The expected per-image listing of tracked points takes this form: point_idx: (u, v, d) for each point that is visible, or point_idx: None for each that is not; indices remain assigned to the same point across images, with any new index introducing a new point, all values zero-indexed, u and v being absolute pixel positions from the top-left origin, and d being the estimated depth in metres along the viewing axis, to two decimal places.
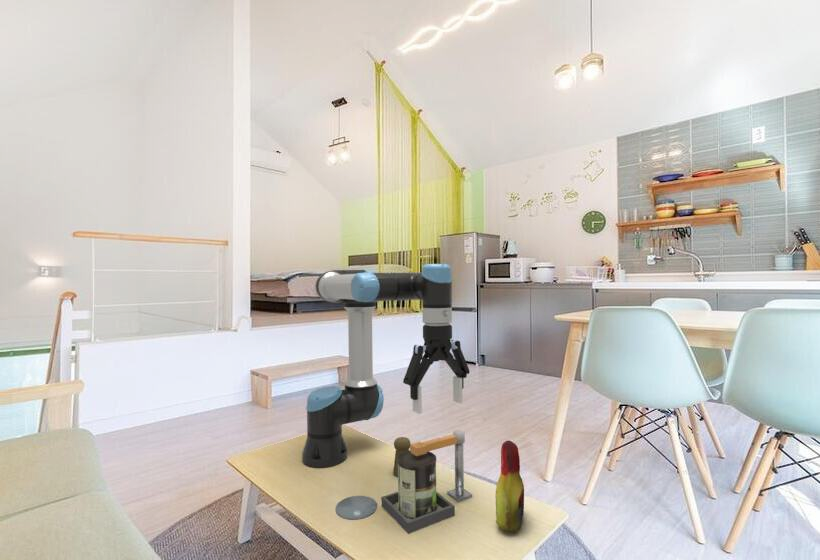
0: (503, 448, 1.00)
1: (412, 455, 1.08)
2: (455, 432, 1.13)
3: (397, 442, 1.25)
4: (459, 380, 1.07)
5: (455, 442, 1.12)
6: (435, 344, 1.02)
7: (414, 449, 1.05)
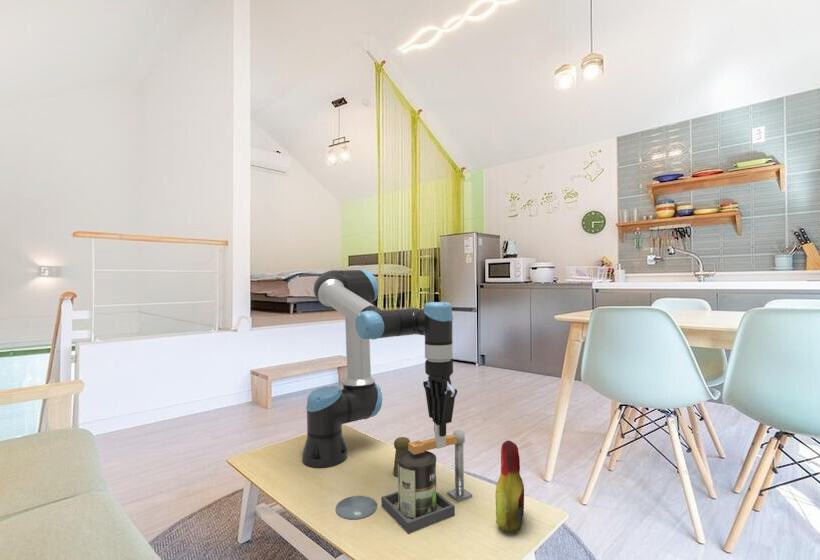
0: (503, 448, 1.00)
1: (412, 455, 1.08)
2: (455, 432, 1.14)
3: (397, 442, 1.25)
4: None
5: (454, 442, 1.12)
6: None
7: (412, 447, 1.06)
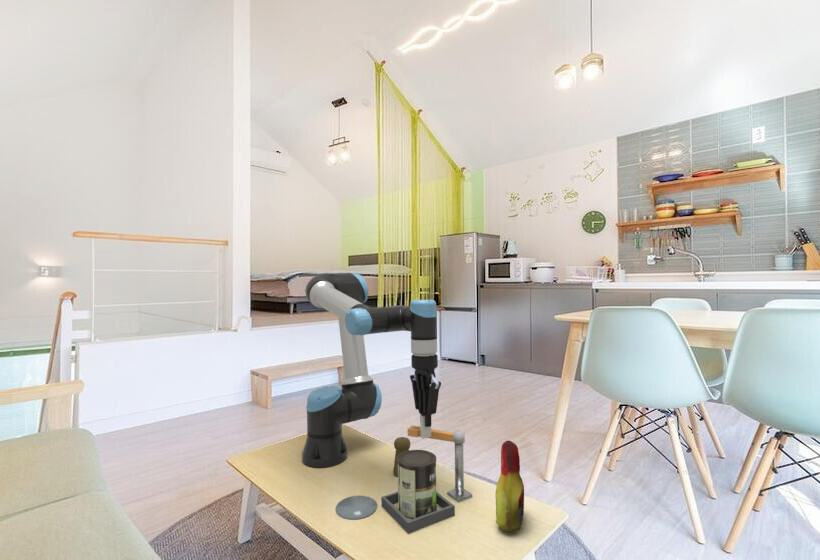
0: (503, 448, 1.00)
1: (412, 455, 1.08)
2: (456, 431, 1.14)
3: (397, 442, 1.25)
4: None
5: (451, 440, 1.13)
6: None
7: None
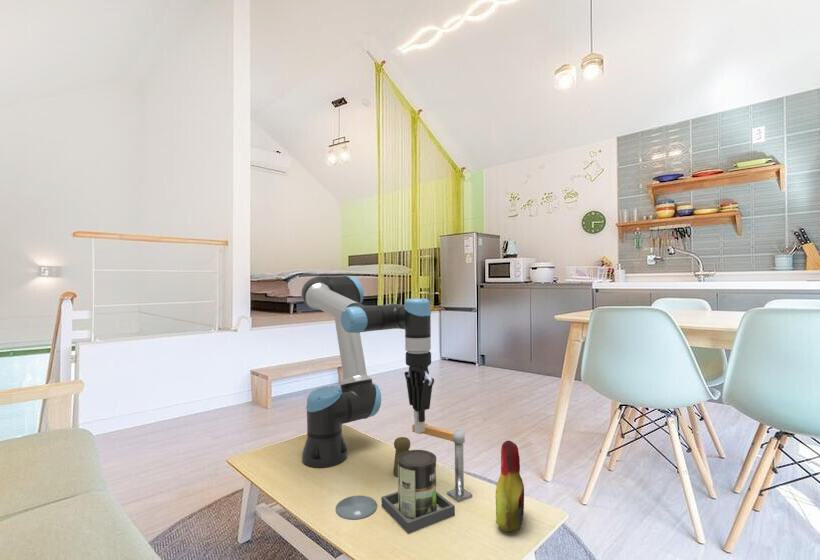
0: (503, 448, 1.00)
1: (412, 455, 1.08)
2: (456, 431, 1.14)
3: (397, 442, 1.25)
4: None
5: (451, 439, 1.14)
6: None
7: None
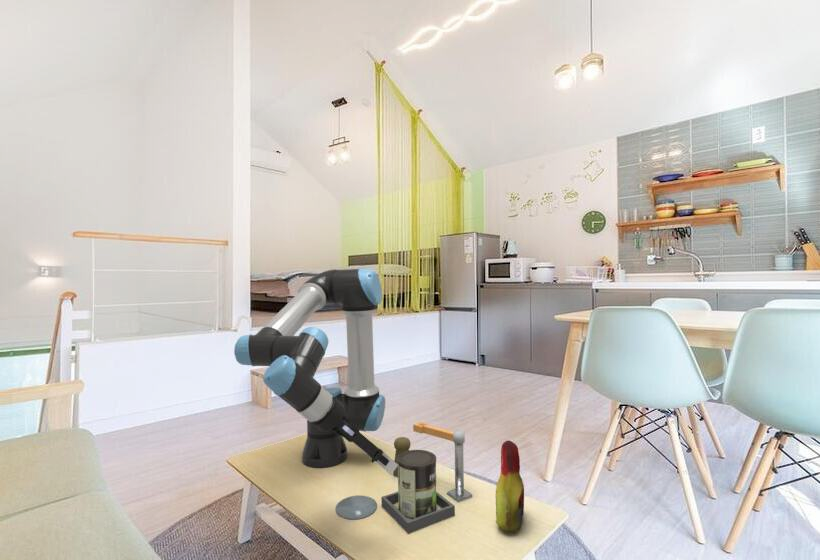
0: (503, 448, 1.00)
1: (412, 455, 1.08)
2: (456, 431, 1.14)
3: (397, 442, 1.25)
4: None
5: (451, 439, 1.14)
6: None
7: None
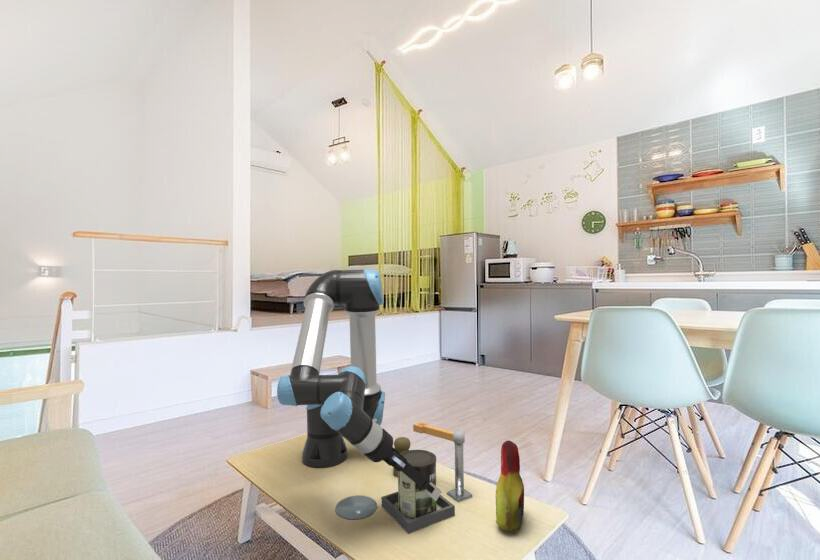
0: (503, 448, 1.00)
1: (412, 455, 1.08)
2: (456, 431, 1.14)
3: (397, 442, 1.25)
4: None
5: (451, 439, 1.14)
6: None
7: None
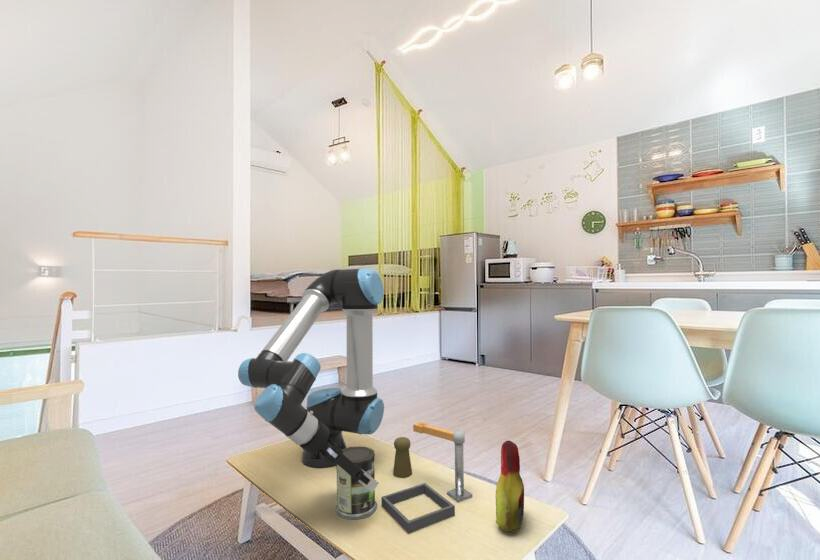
0: (503, 448, 1.00)
1: (352, 451, 1.10)
2: (456, 431, 1.14)
3: (397, 442, 1.25)
4: None
5: (451, 439, 1.14)
6: (327, 441, 1.03)
7: None
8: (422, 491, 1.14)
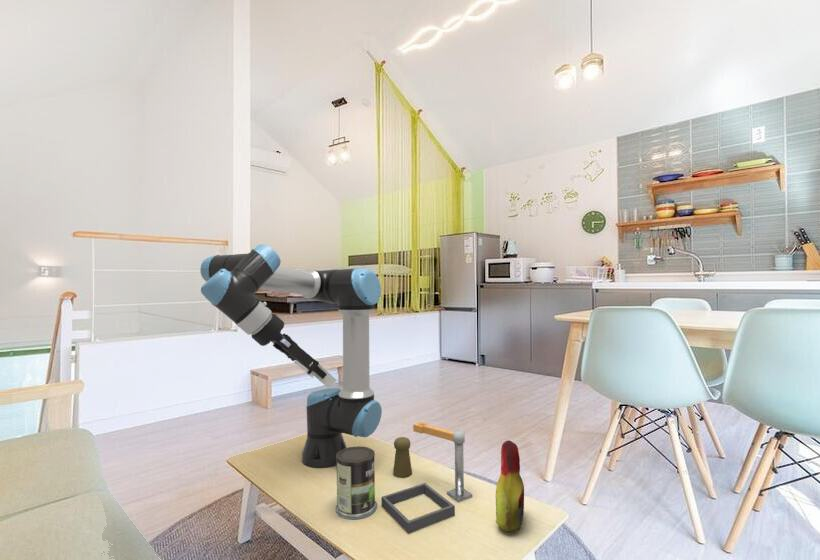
0: (503, 448, 1.00)
1: (352, 451, 1.10)
2: (456, 431, 1.14)
3: (397, 442, 1.25)
4: None
5: (451, 439, 1.14)
6: None
7: None
8: (422, 491, 1.14)
